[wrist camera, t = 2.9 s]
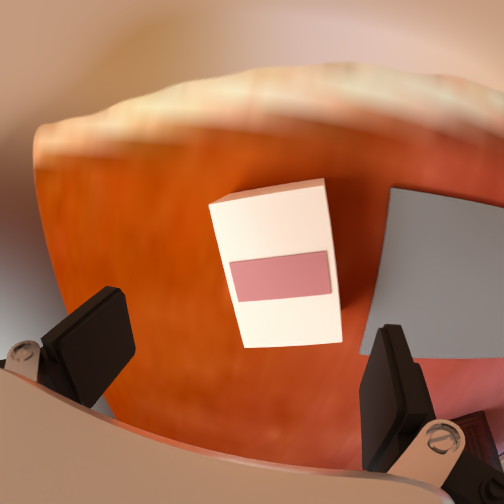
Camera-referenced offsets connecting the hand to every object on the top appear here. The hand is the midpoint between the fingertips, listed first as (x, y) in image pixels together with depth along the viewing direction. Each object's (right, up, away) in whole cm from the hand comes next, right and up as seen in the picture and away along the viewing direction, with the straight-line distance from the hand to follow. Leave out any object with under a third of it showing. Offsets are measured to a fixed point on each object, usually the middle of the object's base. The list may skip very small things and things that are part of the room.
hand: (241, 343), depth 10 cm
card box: (+3, +3, +10) cm, 11 cm away
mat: (+17, +1, +7) cm, 19 cm away
